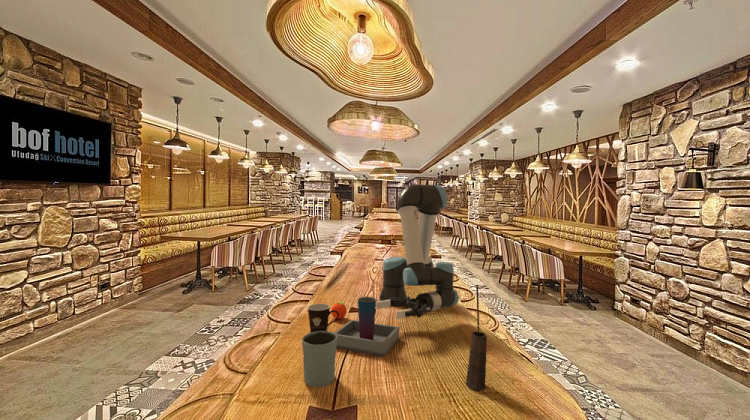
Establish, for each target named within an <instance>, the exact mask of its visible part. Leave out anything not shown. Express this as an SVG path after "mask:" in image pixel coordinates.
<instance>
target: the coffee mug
mask: <svg viewBox="0 0 750 420" xmlns="http://www.w3.org/2000/svg"><path fill="white" fill-rule="evenodd" d="M330 307H331V306H330V305H329V304H326V303H314V304H310V305H308V307H307V311H308V320H309V321H308V323H309V329H310V332H309V333H312V332H317V331H328V327H329V326H330V325H332V324H333V323H335V322H336V321H337V320H339V319H338V317H339V313H338V312H337V311H335V310H332V311H331V308H330ZM331 312H336V313H337V315H338V316H337V318H334V320H332V321H330V322H329V317H330V315H331Z"/></svg>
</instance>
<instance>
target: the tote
mask: <svg viewBox="0 0 750 420" xmlns="http://www.w3.org/2000/svg"><path fill="white" fill-rule="evenodd" d="M333 333H335V334H336V335H337V346H336V349H340V350H341V349H342V350H345V351H351V352H357V353H360V354H361V353H362V354H365V355H366V354H367V355H370V356H376V357H379V358H385V357H387V355H388V354H389V352H390V351H391V350H392V349H393V347H394V346H395V345H396V343H397V342H398V341H399V339H400V327H399V326H395V325H388V324H383V323H382V324H381V323H374V338H373V340H368V339H363V338H360V334H359V320H356V319H351V320H349V321H348V322H347V323H345V324H344V325H342V326H341V327H340V328H339V329H337V330H335V331H334V332H333Z"/></svg>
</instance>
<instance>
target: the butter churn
mask: <svg viewBox="0 0 750 420" xmlns="http://www.w3.org/2000/svg"><path fill="white" fill-rule="evenodd" d="M475 287H476V289H475V290H476V292H475V293H476V315H477V316H476V317H477V318H476V319H477V320H476V322H477V323H476V326H477V331H472V332H471V339H470V350H469V359H468V364H467V373H466V381H465V384H467V388H468V389H470V388H471V389H470V390H473V389H475V390H474V391H477V390H481V389H482V390H484V389H485V388H486V377H487V376H486V373H487V369H486V368H487V366H486V365H487V349H488V348H487V347H488V345H487V344H488V343H487V342H488V341H487V338H488V337H487V334H486V333H485V332H483V331H481V330H480V312H479V311H480V309H479V308H480V306H479V304H480V303H479V302H480V299H479V284H475ZM484 387H485V388H484ZM482 390H481V391H482Z"/></svg>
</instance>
